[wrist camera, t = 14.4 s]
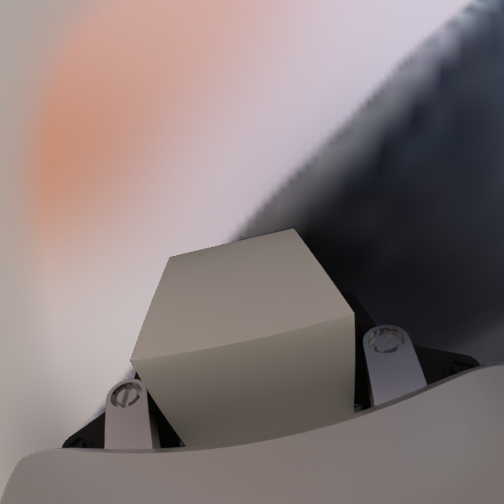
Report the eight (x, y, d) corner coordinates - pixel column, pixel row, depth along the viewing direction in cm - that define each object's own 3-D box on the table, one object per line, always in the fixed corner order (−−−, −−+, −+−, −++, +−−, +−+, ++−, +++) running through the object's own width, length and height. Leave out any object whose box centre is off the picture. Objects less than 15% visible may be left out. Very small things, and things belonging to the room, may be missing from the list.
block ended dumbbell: (293, 228, 11) (354, 313, 5) (323, 456, 17) (341, 520, 12) (169, 257, 10) (130, 360, 5) (259, 470, 17) (268, 536, 12)
